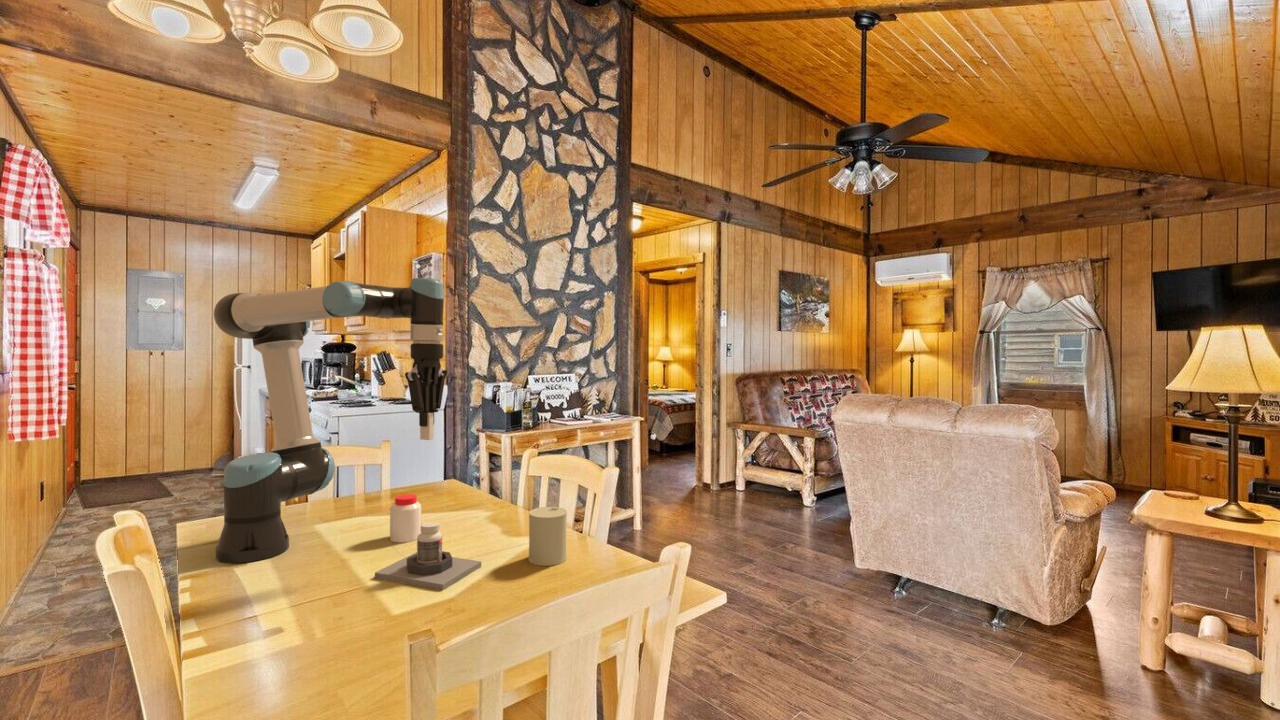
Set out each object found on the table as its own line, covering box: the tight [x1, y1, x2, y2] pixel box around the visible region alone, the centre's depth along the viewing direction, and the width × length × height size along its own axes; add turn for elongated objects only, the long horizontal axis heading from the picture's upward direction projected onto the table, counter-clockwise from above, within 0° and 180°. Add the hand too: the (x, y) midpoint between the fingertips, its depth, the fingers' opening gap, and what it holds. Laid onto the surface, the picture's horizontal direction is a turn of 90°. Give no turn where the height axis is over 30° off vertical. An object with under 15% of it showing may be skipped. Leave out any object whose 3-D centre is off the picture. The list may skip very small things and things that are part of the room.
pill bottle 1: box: [389, 493, 422, 544], centre depth 158 cm, size 8×8×11 cm
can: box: [527, 506, 568, 567], centre depth 145 cm, size 9×9×12 cm
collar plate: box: [374, 550, 482, 591], centre depth 135 cm, size 18×14×3 cm
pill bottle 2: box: [416, 521, 443, 565], centre depth 135 cm, size 5×5×10 cm
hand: (426, 439), depth 146 cm, fingers closed
